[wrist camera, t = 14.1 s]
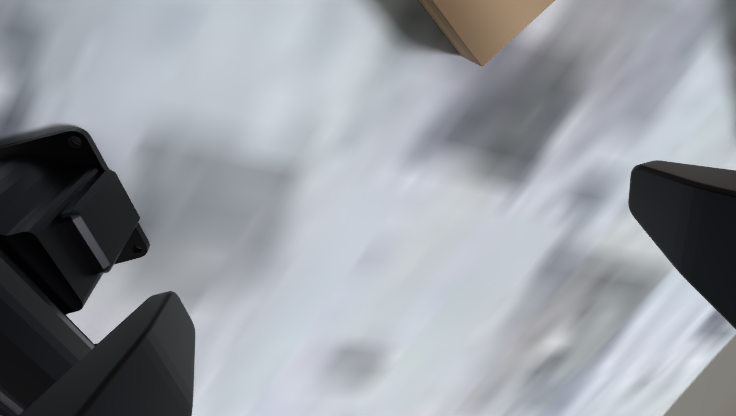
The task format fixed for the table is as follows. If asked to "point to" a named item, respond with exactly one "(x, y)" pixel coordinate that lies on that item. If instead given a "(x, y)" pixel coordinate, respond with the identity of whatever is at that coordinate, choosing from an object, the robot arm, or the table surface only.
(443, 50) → the table surface
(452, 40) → the socket board
